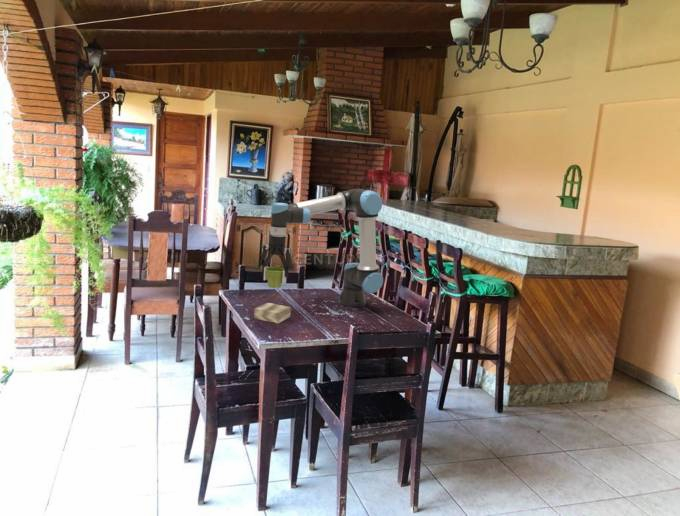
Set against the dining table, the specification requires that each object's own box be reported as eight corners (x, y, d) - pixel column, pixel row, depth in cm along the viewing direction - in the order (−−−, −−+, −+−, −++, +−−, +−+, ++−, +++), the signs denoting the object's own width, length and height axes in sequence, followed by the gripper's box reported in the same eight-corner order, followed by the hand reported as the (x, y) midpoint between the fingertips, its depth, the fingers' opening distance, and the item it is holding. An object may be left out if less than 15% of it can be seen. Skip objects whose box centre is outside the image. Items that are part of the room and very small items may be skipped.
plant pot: (280, 290, 249) (281, 272, 248) (261, 287, 251) (262, 269, 249) (286, 285, 258) (287, 268, 257) (268, 283, 260) (269, 266, 259)
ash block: (290, 316, 261) (290, 307, 260) (277, 323, 249) (278, 313, 248) (267, 312, 266) (267, 302, 265) (253, 318, 254) (254, 308, 253)
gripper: (253, 233, 250) (250, 279, 254) (295, 239, 243) (291, 286, 247) (261, 231, 257) (258, 276, 261) (302, 237, 250) (298, 283, 254)
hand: (274, 281), depth 254 cm, fingers closed on plant pot, 9 cm apart
